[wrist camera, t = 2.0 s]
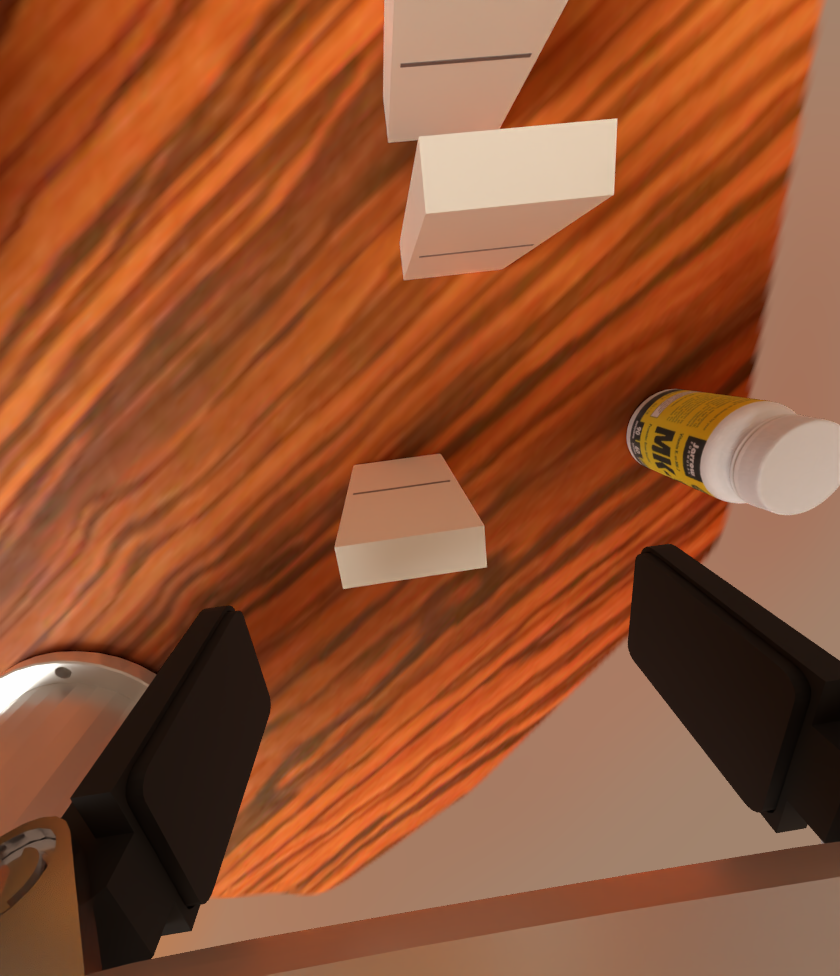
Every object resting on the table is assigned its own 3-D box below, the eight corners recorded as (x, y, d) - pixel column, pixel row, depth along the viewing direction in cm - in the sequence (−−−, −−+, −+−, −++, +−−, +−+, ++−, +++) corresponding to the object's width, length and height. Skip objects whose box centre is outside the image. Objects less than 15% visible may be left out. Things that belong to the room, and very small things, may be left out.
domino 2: (502, 270, 20) (613, 195, 10) (403, 280, 19) (426, 214, 10) (500, 232, 19) (617, 117, 10) (399, 242, 19) (418, 135, 10)
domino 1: (497, 133, 18) (629, -112, 8) (388, 143, 18) (398, -98, 8) (495, 87, 17) (633, -229, 8) (382, 97, 17) (387, -220, 8)
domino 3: (443, 480, 23) (487, 567, 14) (358, 491, 23) (343, 589, 13) (440, 453, 23) (484, 525, 13) (353, 464, 22) (334, 546, 13)
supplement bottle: (611, 417, 23) (734, 452, 15) (684, 371, 22) (852, 382, 14) (640, 482, 24) (766, 544, 16) (710, 440, 24) (873, 484, 16)
